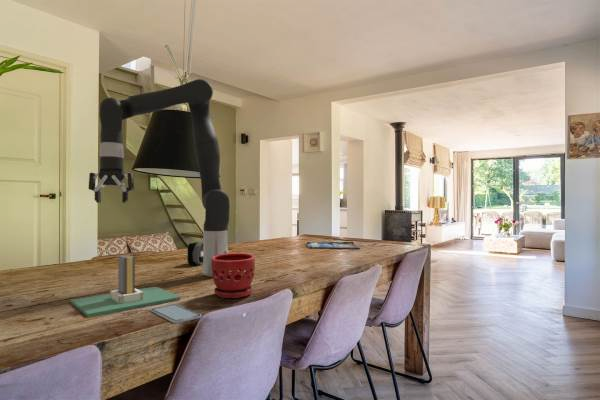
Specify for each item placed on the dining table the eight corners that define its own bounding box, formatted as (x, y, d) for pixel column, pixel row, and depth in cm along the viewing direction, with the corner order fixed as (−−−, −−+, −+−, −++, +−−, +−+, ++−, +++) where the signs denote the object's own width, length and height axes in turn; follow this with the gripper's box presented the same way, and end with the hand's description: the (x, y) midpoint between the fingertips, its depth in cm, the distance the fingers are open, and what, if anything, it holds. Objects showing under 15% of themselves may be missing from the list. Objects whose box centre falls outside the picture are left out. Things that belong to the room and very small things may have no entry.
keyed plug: (129, 295, 108) (129, 255, 108) (135, 299, 105) (135, 257, 105) (118, 297, 106) (118, 256, 106) (124, 301, 103) (124, 258, 103)
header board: (155, 288, 121) (155, 280, 121) (180, 299, 107) (180, 290, 107) (70, 302, 104) (70, 292, 104) (87, 317, 91) (87, 305, 91)
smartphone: (175, 303, 102) (203, 315, 91) (175, 306, 102) (203, 318, 91) (148, 309, 97) (174, 321, 86) (148, 312, 97) (174, 325, 86)
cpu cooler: (198, 266, 162) (198, 243, 162) (186, 266, 163) (186, 243, 163) (208, 262, 172) (208, 241, 172) (197, 262, 173) (197, 240, 174)
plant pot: (207, 292, 116) (207, 254, 116) (248, 288, 122) (248, 252, 122) (215, 302, 104) (215, 260, 104) (260, 298, 110) (260, 257, 110)
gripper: (85, 154, 125) (85, 202, 125) (129, 155, 127) (129, 202, 127) (94, 157, 133) (94, 202, 132) (136, 158, 135) (136, 202, 134)
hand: (111, 202), depth 130 cm, fingers open, 8 cm apart
